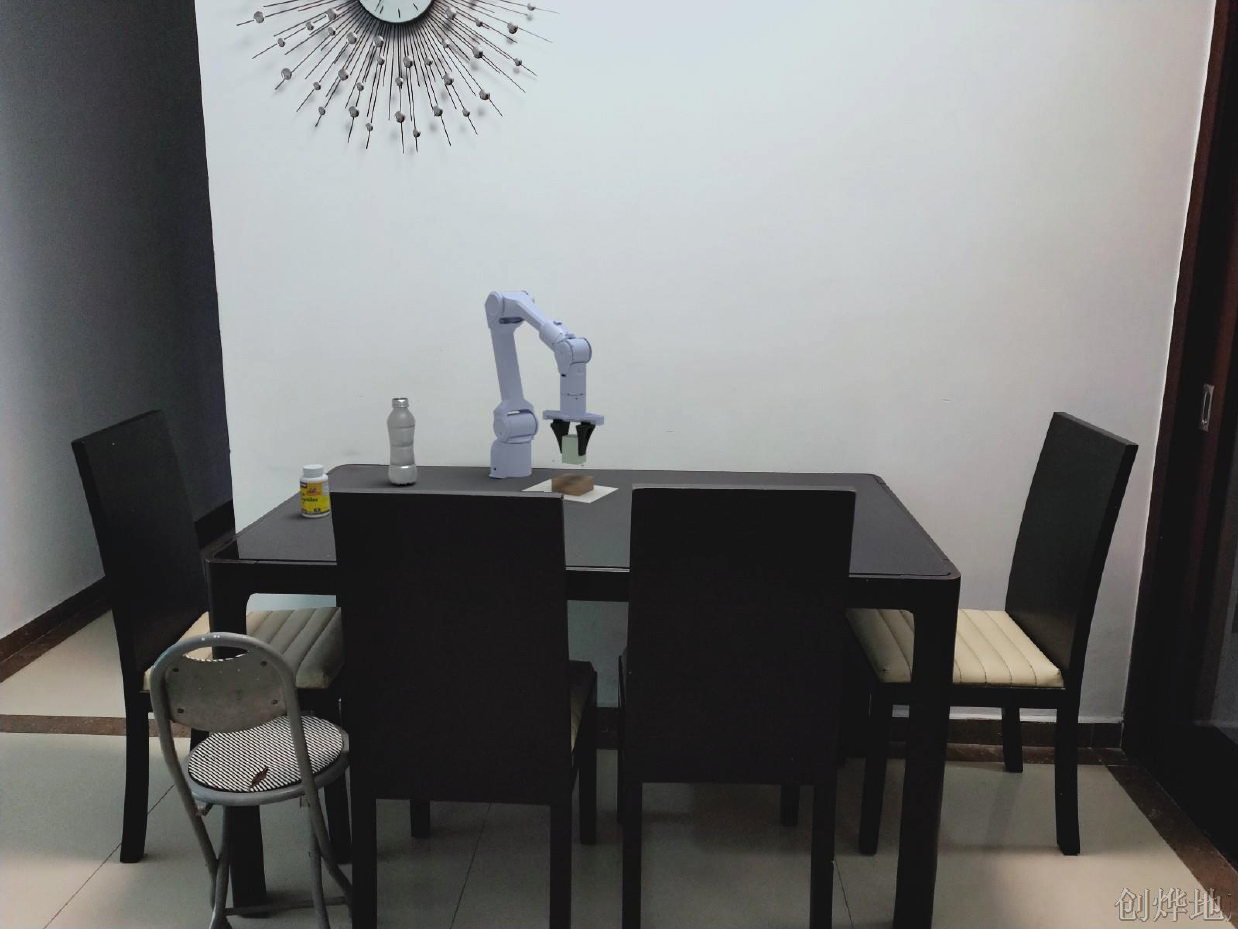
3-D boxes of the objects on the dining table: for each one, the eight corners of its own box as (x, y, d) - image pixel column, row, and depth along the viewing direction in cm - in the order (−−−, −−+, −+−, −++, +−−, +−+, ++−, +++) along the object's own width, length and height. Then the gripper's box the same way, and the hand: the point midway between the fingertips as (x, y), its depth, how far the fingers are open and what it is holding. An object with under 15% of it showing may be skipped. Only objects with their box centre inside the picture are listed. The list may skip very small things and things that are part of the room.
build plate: (518, 495, 211) (518, 492, 210) (550, 482, 223) (550, 479, 223) (589, 506, 203) (589, 502, 203) (618, 491, 215) (618, 488, 215)
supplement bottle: (296, 517, 192) (292, 468, 190) (312, 510, 197) (309, 462, 195) (319, 519, 190) (316, 470, 188) (335, 512, 196) (332, 464, 193)
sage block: (561, 462, 210) (562, 436, 209) (570, 459, 214) (570, 433, 213) (577, 464, 209) (577, 438, 207) (586, 461, 212) (586, 435, 211)
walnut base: (551, 492, 211) (551, 479, 210) (566, 485, 217) (566, 473, 216) (578, 496, 208) (579, 483, 207) (593, 489, 214) (593, 476, 213)
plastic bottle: (382, 485, 218) (379, 399, 213) (400, 479, 224) (396, 395, 219) (406, 488, 215) (403, 402, 211) (423, 482, 222) (420, 397, 217)
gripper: (535, 393, 207) (535, 453, 210) (593, 398, 201) (593, 461, 204) (551, 389, 213) (551, 448, 216) (608, 394, 207) (608, 454, 210)
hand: (572, 454), depth 210 cm, fingers closed on sage block, 4 cm apart
